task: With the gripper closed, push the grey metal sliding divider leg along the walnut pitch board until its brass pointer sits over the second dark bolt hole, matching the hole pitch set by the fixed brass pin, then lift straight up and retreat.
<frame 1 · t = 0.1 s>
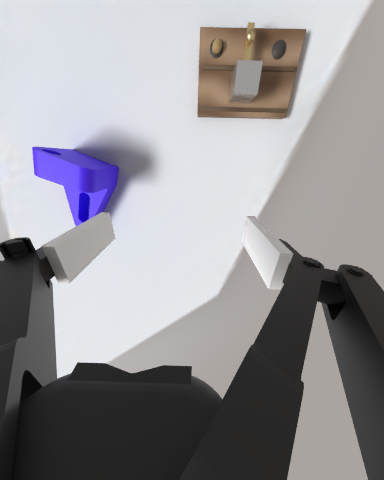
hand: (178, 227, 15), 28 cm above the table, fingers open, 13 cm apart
bracket: (93, 194, 42), on the table
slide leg: (246, 63, 27), point 4 cm above the table, slide at 0.0 cm
pitch board: (244, 80, 31), on the table
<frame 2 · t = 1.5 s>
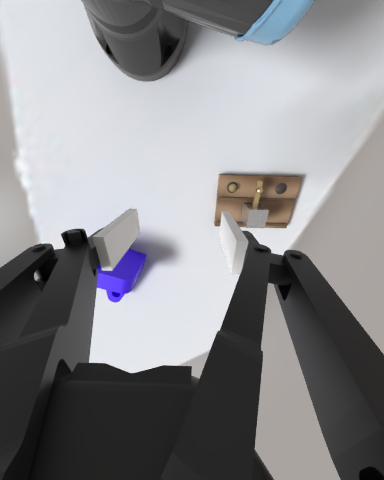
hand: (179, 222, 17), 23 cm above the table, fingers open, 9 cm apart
bracket: (123, 271, 50), on the table
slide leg: (255, 203, 34), point 4 cm above the table, slide at 0.0 cm
pitch board: (253, 201, 39), on the table
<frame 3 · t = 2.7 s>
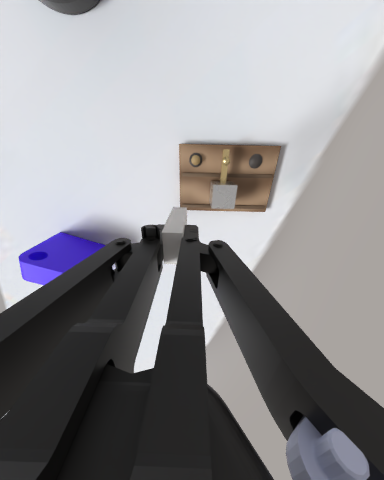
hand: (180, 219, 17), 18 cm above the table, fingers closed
bracket: (83, 265, 43), on the table
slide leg: (223, 179, 28), point 4 cm above the table, slide at 0.0 cm
pitch board: (224, 179, 32), on the table
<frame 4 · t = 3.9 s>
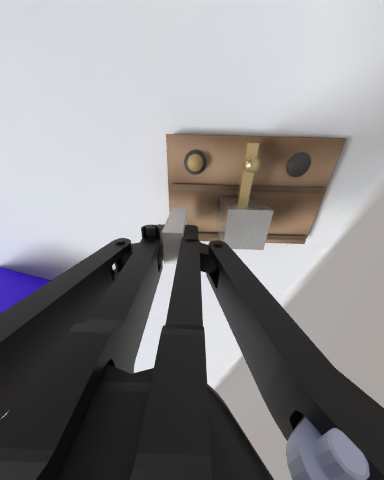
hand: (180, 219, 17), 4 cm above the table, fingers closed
bracket: (38, 307, 31), on the table
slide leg: (244, 196, 16), point 4 cm above the table, slide at 0.0 cm
pitch board: (241, 194, 20), on the table
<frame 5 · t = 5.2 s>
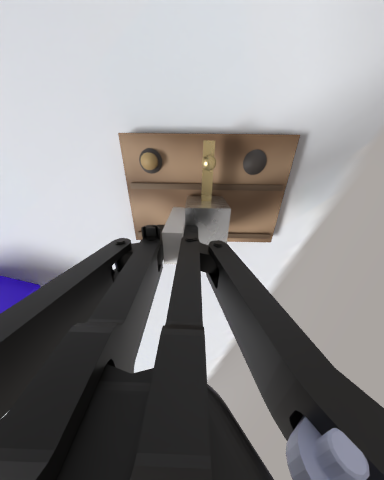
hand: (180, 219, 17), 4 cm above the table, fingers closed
bracket: (16, 309, 31), on the table
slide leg: (206, 195, 16), point 4 cm above the table, slide at 0.9 cm, touching gripper
pitch board: (204, 192, 20), on the table
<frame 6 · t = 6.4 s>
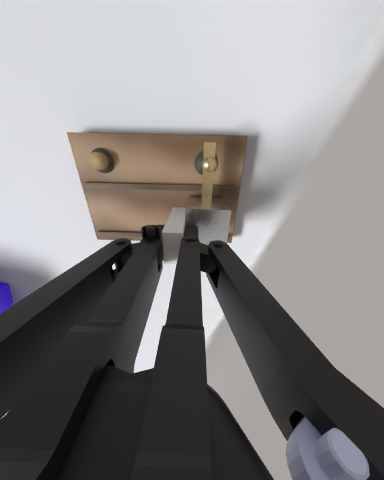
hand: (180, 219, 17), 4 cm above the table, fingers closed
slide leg: (206, 196, 16), point 4 cm above the table, slide at 6.1 cm, touching gripper
pitch board: (163, 193, 20), on the table
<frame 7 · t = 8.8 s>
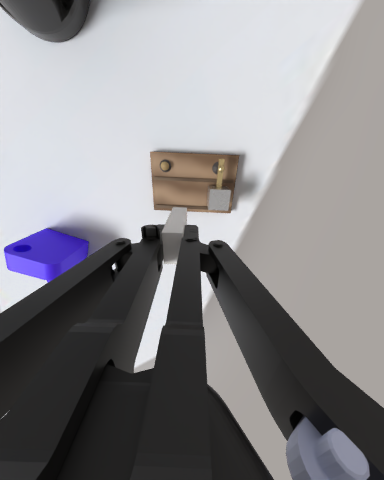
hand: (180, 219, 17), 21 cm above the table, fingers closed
bracket: (68, 260, 47), on the table
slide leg: (219, 184, 32), point 4 cm above the table, slide at 6.2 cm
pitch board: (193, 183, 36), on the table
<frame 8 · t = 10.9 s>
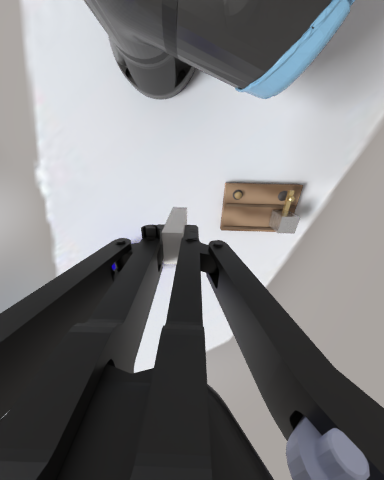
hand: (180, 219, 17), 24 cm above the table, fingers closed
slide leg: (286, 210, 37), point 4 cm above the table, slide at 6.2 cm
pitch board: (257, 207, 41), on the table
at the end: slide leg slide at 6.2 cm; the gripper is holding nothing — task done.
